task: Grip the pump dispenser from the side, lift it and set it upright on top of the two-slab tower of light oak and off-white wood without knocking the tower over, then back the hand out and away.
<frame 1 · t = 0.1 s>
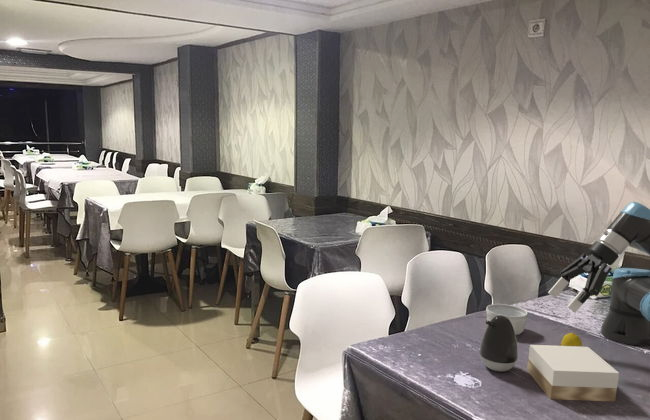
hand: (560, 302, 158), 15 cm above the table, tool tilted 35°, fingers open, 13 cm apart
ramekin: (505, 330, 177), on the table
lemon: (570, 359, 155), on the table
tower base: (568, 386, 138), on the table, touching tower top
tower top: (570, 372, 137), point 3 cm above the table, touching tower base
pump dispenser: (497, 368, 147), on the table
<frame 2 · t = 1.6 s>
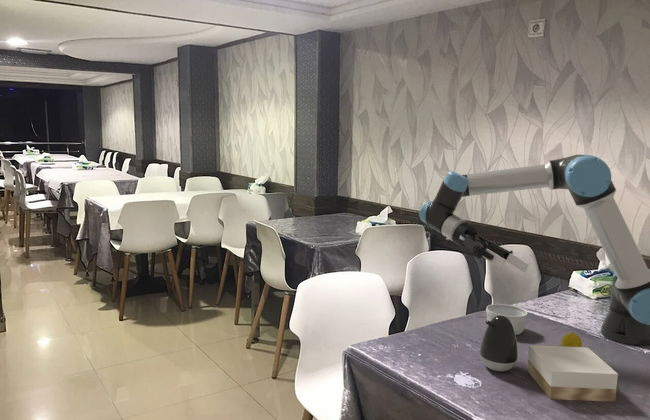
hand: (515, 266, 149), 28 cm above the table, tool tilted 70°, fingers open, 13 cm apart
nothing on the table moved.
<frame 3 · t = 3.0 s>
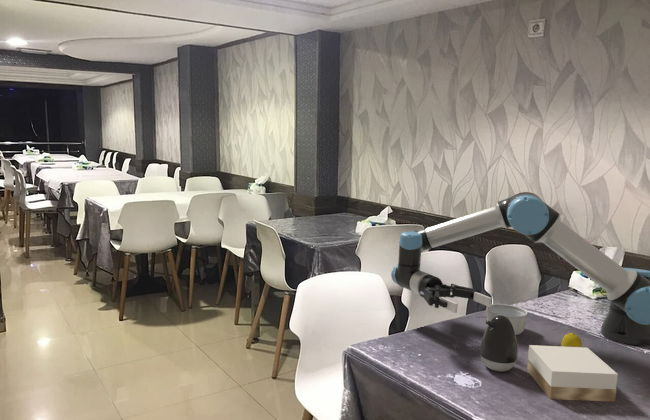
hand: (473, 305, 153), 15 cm above the table, tool horizontal, fingers open, 13 cm apart
nothing on the table moved.
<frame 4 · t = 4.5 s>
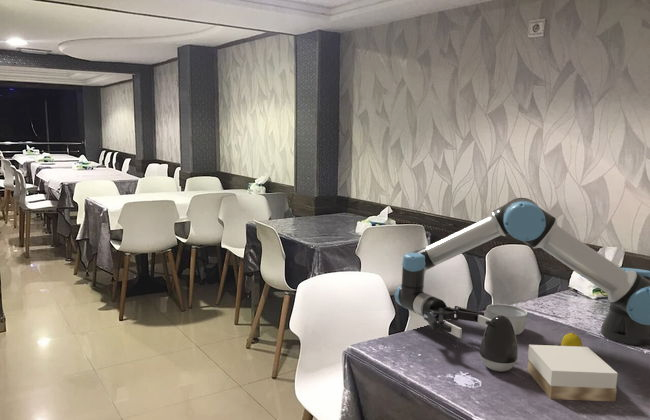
hand: (478, 329, 152), 8 cm above the table, tool horizontal, fingers open, 13 cm apart
nothing on the table moved.
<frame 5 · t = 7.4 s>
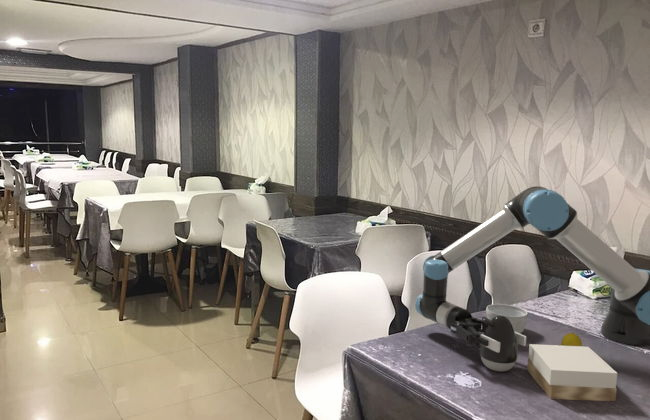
hand: (512, 344, 142), 9 cm above the table, tool horizontal, fingers closed on pump dispenser, 9 cm apart
pump dispenser: (496, 368, 147), on the table, touching gripper
everything else where it was.
when the fingers open (17 cm above the table, at t = 14.4 s): pump dispenser drops 1 cm, resting on tower top.
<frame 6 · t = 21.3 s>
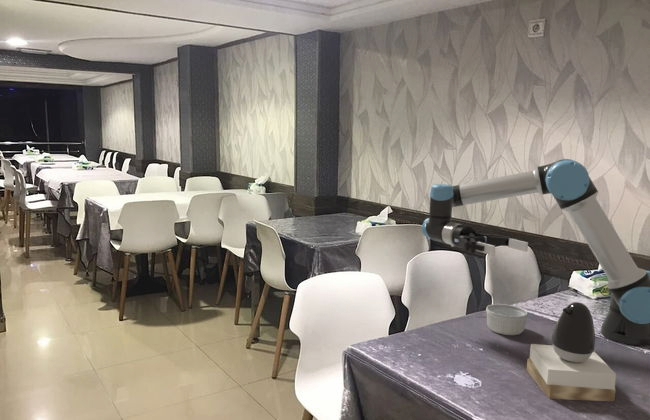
hand: (510, 248, 152), 32 cm above the table, tool horizontal, fingers open, 13 cm apart
tower base: (567, 386, 138), on the table
tower top: (569, 372, 137), point 3 cm above the table, touching pump dispenser
pump dispenser: (570, 358, 136), point 7 cm above the table, touching tower top
everything else where it was.
at the end: pump dispenser inside the target area on the tower top (0.4 cm from its centre), point 3.9 cm above the tower top's base; pump dispenser tilted 2°; tower top 0.1 cm from the tower base (horizontally) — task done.
